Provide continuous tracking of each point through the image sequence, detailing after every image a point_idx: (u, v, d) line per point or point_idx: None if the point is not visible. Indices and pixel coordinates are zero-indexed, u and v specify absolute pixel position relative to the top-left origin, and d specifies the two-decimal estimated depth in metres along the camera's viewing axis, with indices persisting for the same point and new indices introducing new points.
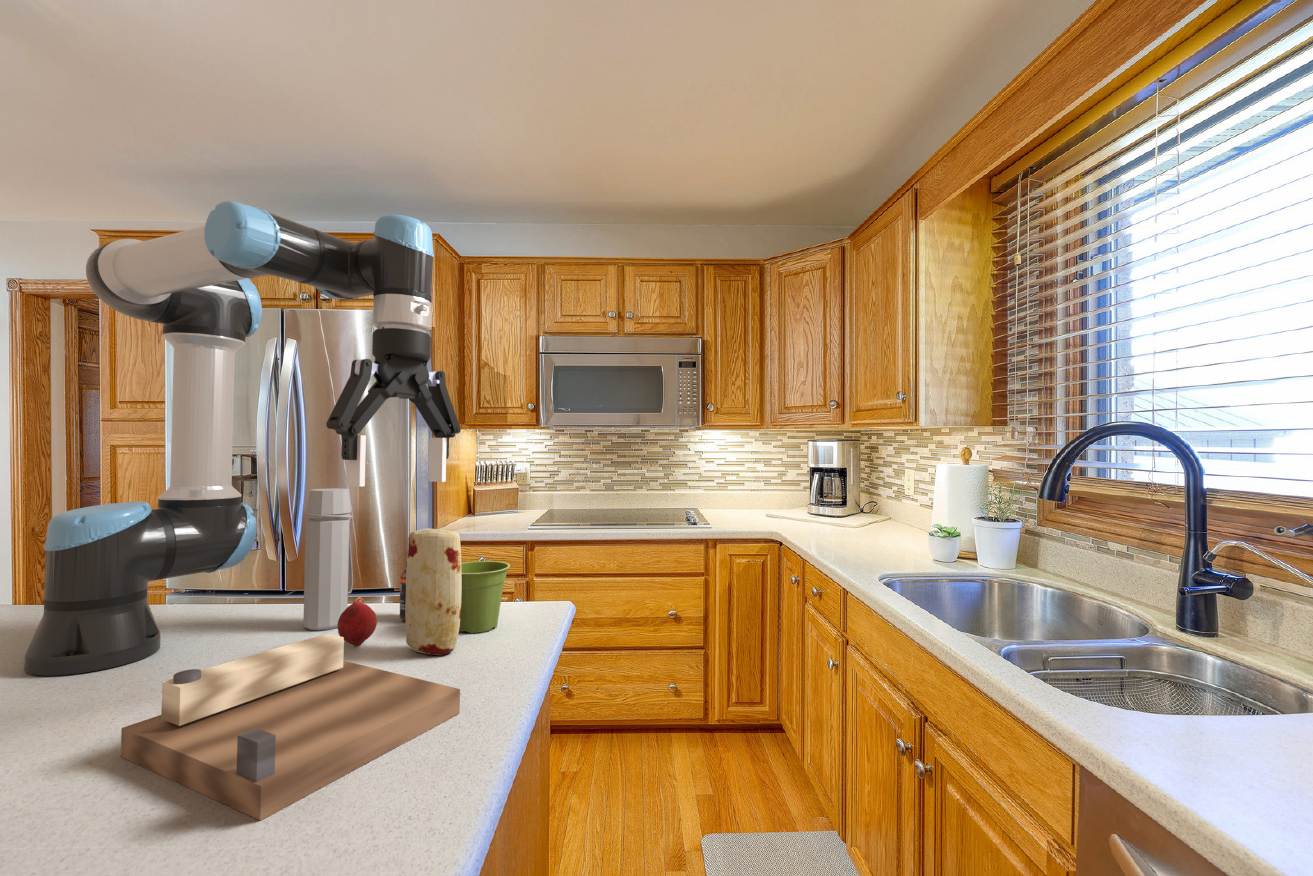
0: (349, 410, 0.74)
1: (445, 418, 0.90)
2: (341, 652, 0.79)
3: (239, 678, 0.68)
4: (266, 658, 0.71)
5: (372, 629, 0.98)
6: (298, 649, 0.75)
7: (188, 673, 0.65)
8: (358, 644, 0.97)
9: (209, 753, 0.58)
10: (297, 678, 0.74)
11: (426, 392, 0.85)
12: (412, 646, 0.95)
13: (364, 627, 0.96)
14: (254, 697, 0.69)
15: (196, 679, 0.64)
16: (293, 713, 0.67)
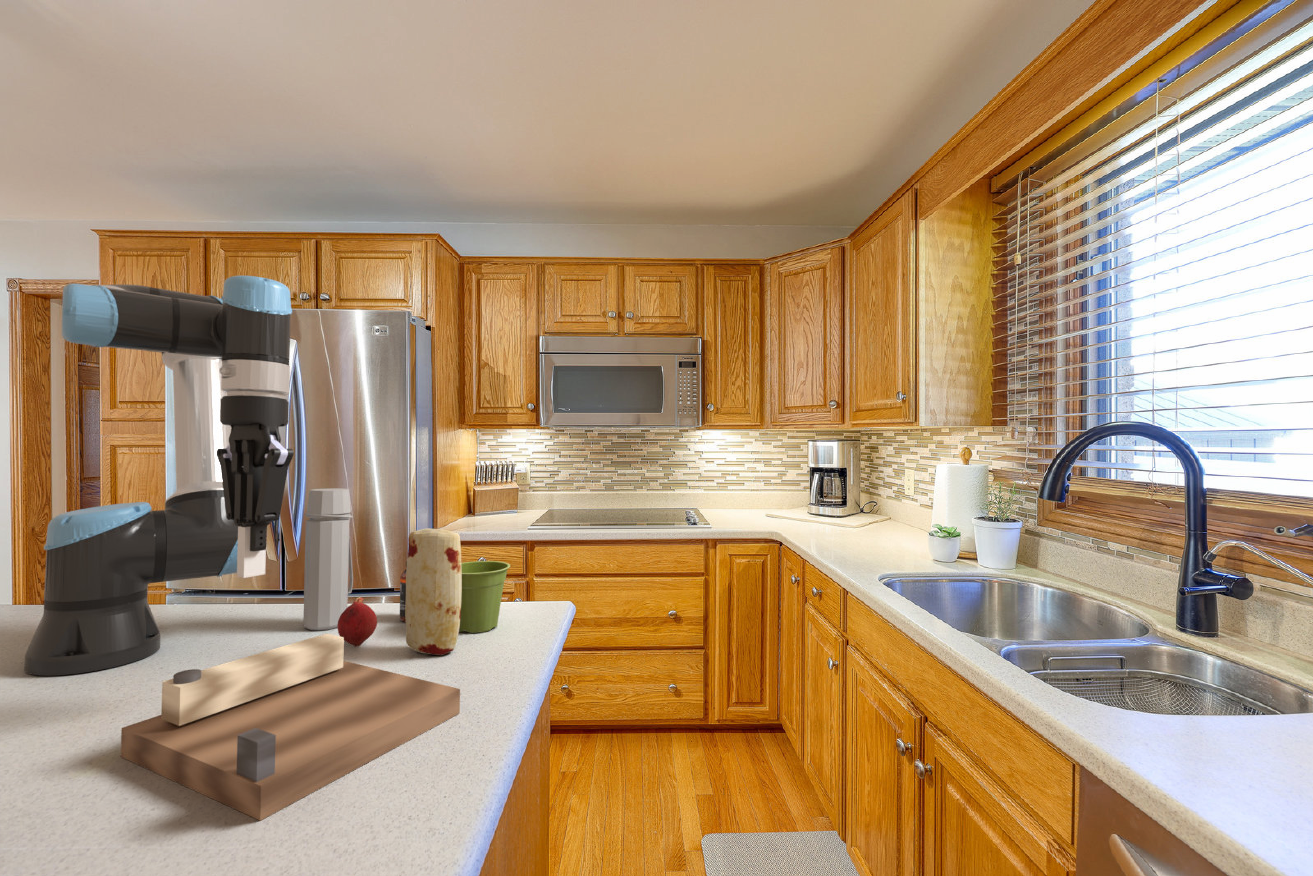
0: (226, 501, 0.79)
1: None
2: (341, 652, 0.79)
3: (239, 678, 0.68)
4: (266, 658, 0.71)
5: (372, 629, 0.98)
6: (298, 649, 0.75)
7: (188, 673, 0.65)
8: (358, 644, 0.97)
9: (209, 753, 0.58)
10: (297, 678, 0.74)
11: (246, 463, 0.76)
12: (412, 646, 0.95)
13: (364, 627, 0.96)
14: (254, 697, 0.69)
15: (196, 679, 0.64)
16: (293, 713, 0.67)
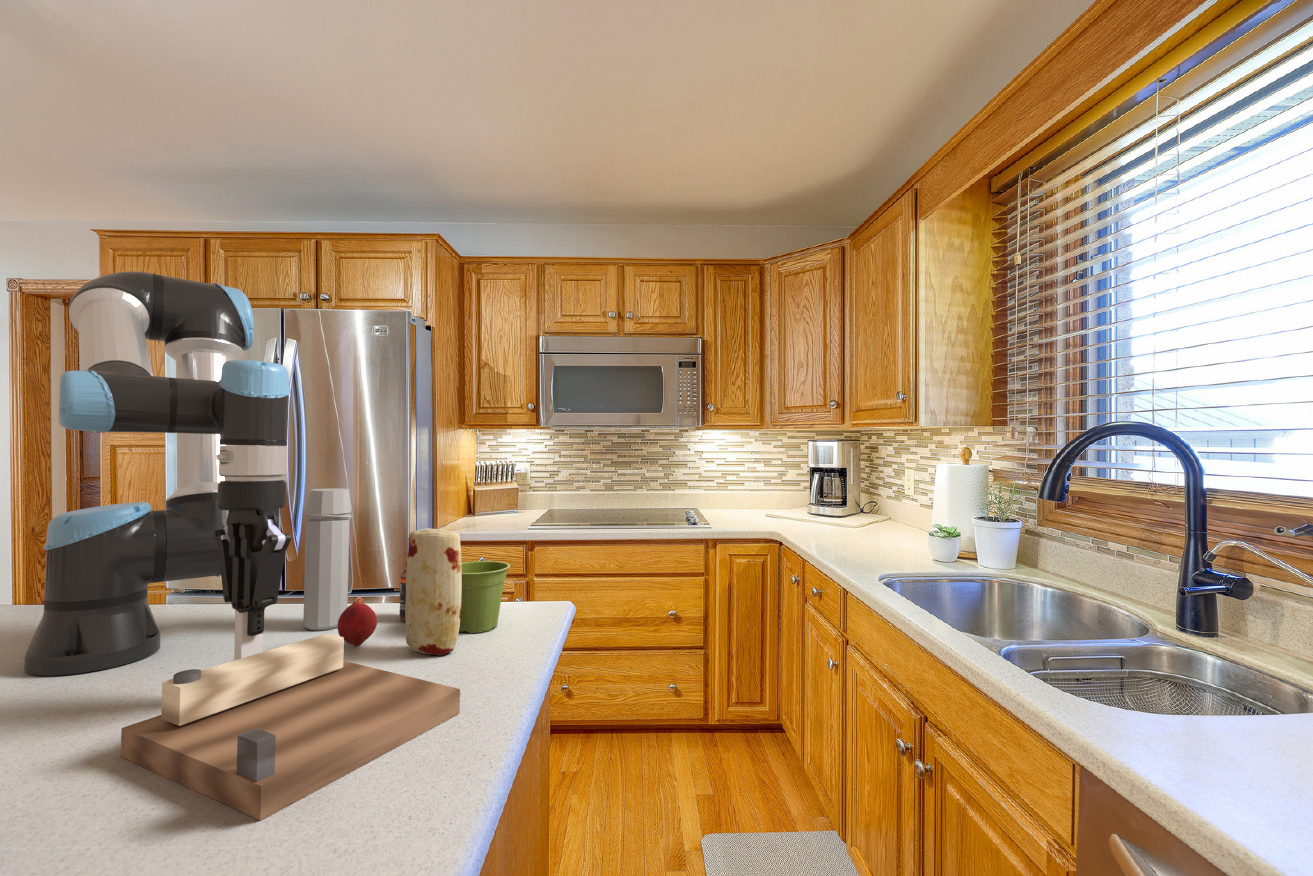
0: (224, 583, 0.79)
1: None
2: (341, 652, 0.79)
3: (239, 678, 0.68)
4: (266, 658, 0.71)
5: (372, 629, 0.98)
6: (298, 649, 0.75)
7: (188, 673, 0.65)
8: (358, 644, 0.97)
9: (209, 753, 0.58)
10: (297, 678, 0.74)
11: (243, 548, 0.76)
12: (412, 646, 0.95)
13: (364, 627, 0.96)
14: (254, 697, 0.69)
15: (196, 679, 0.64)
16: (293, 713, 0.67)
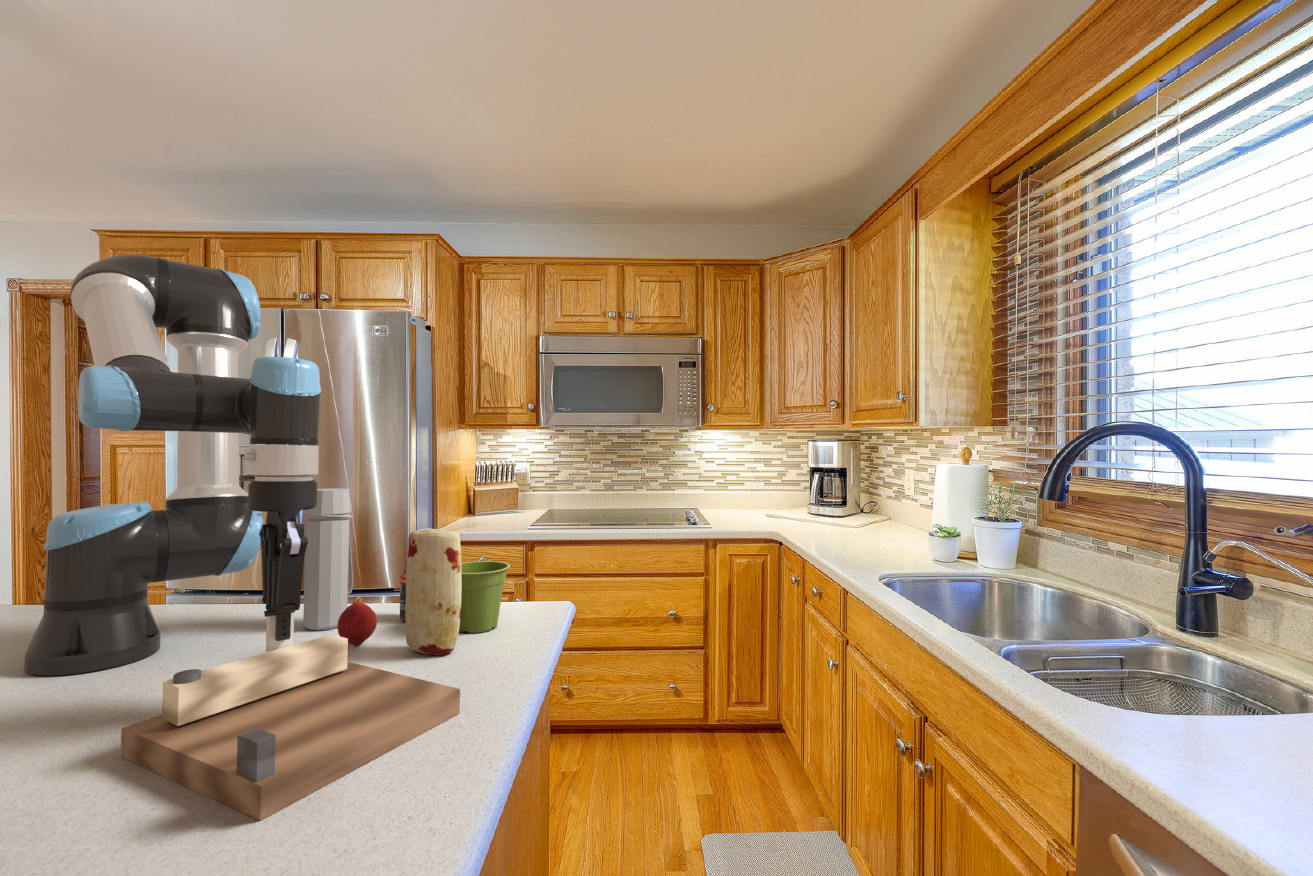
0: (263, 584, 0.78)
1: None
2: (345, 654, 0.79)
3: (240, 679, 0.68)
4: (267, 659, 0.71)
5: (372, 629, 0.98)
6: (301, 650, 0.74)
7: (188, 673, 0.65)
8: (358, 644, 0.97)
9: (209, 753, 0.58)
10: (299, 679, 0.74)
11: (269, 550, 0.74)
12: (412, 646, 0.95)
13: (364, 627, 0.96)
14: (255, 698, 0.69)
15: (195, 679, 0.64)
16: (293, 713, 0.67)
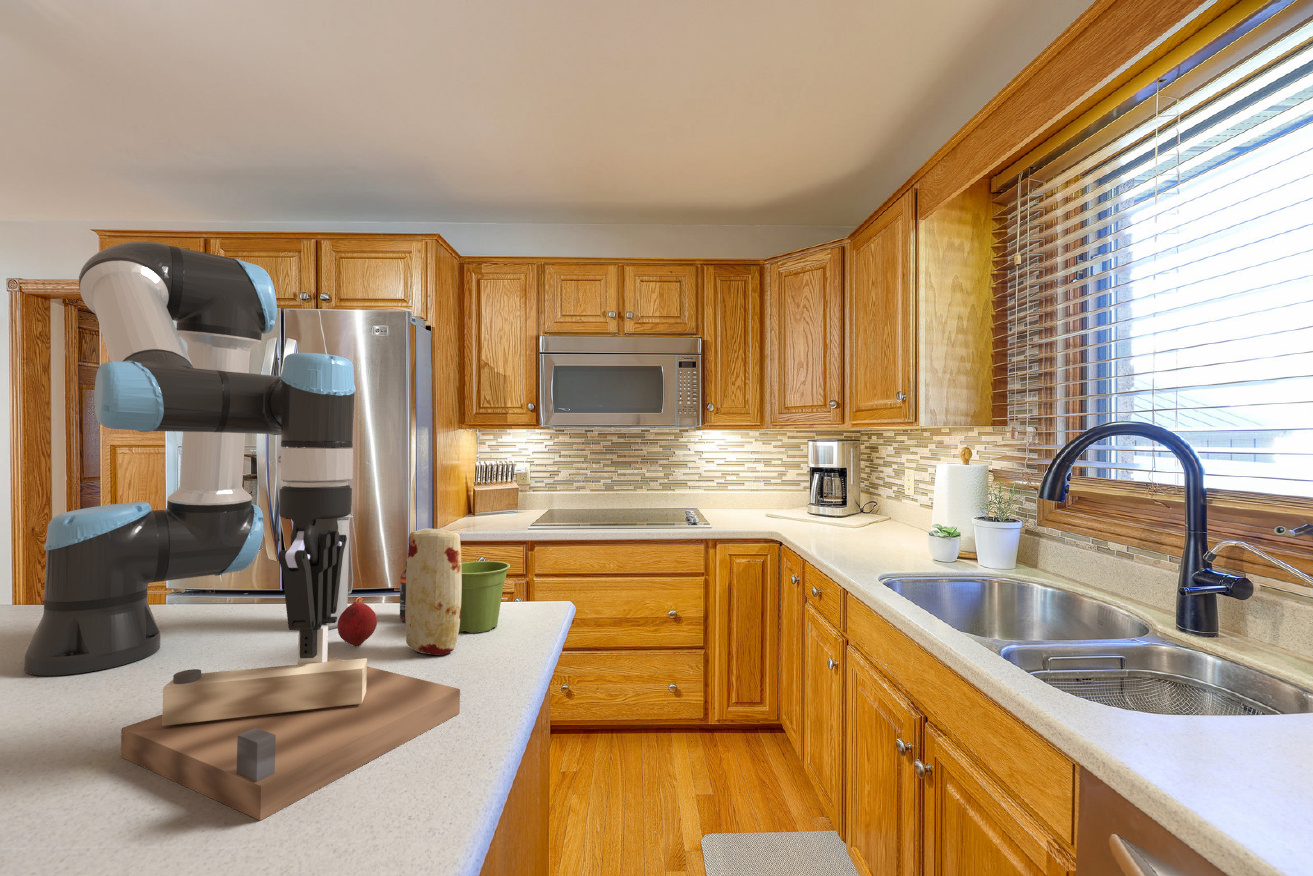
0: None
1: None
2: (359, 685, 0.69)
3: (229, 690, 0.64)
4: (267, 674, 0.66)
5: (372, 629, 0.98)
6: (307, 671, 0.67)
7: (187, 673, 0.65)
8: (358, 644, 0.97)
9: (209, 753, 0.58)
10: (299, 704, 0.67)
11: None
12: (412, 646, 0.95)
13: (364, 627, 0.96)
14: (246, 714, 0.65)
15: (186, 682, 0.64)
16: (293, 713, 0.67)
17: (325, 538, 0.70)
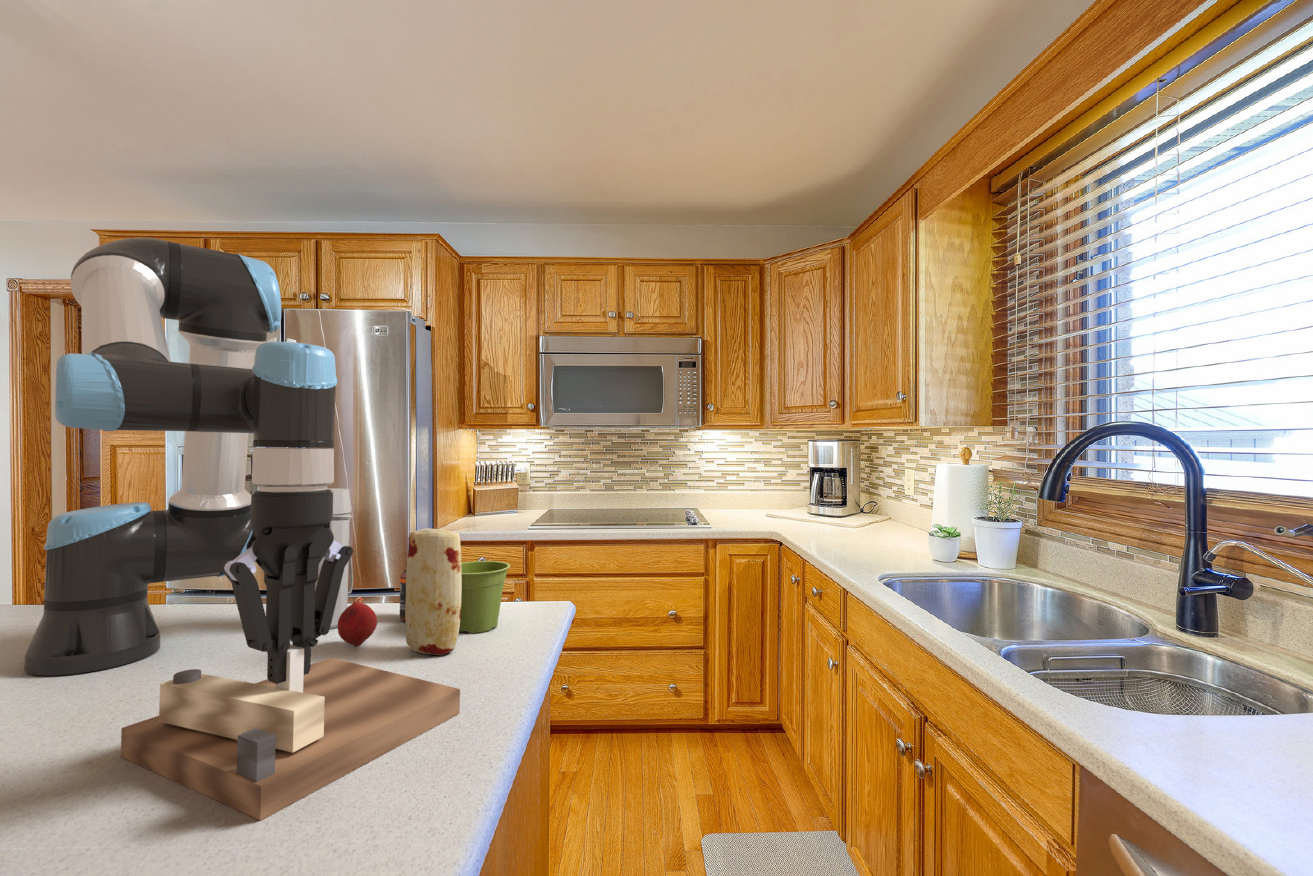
0: None
1: None
2: (291, 730, 0.57)
3: (198, 701, 0.62)
4: (230, 693, 0.61)
5: (372, 629, 0.98)
6: (257, 699, 0.60)
7: (186, 673, 0.65)
8: (358, 644, 0.97)
9: (209, 753, 0.58)
10: None
11: None
12: (412, 646, 0.95)
13: (364, 627, 0.96)
14: (209, 731, 0.61)
15: (178, 682, 0.64)
16: None
17: (284, 550, 0.61)
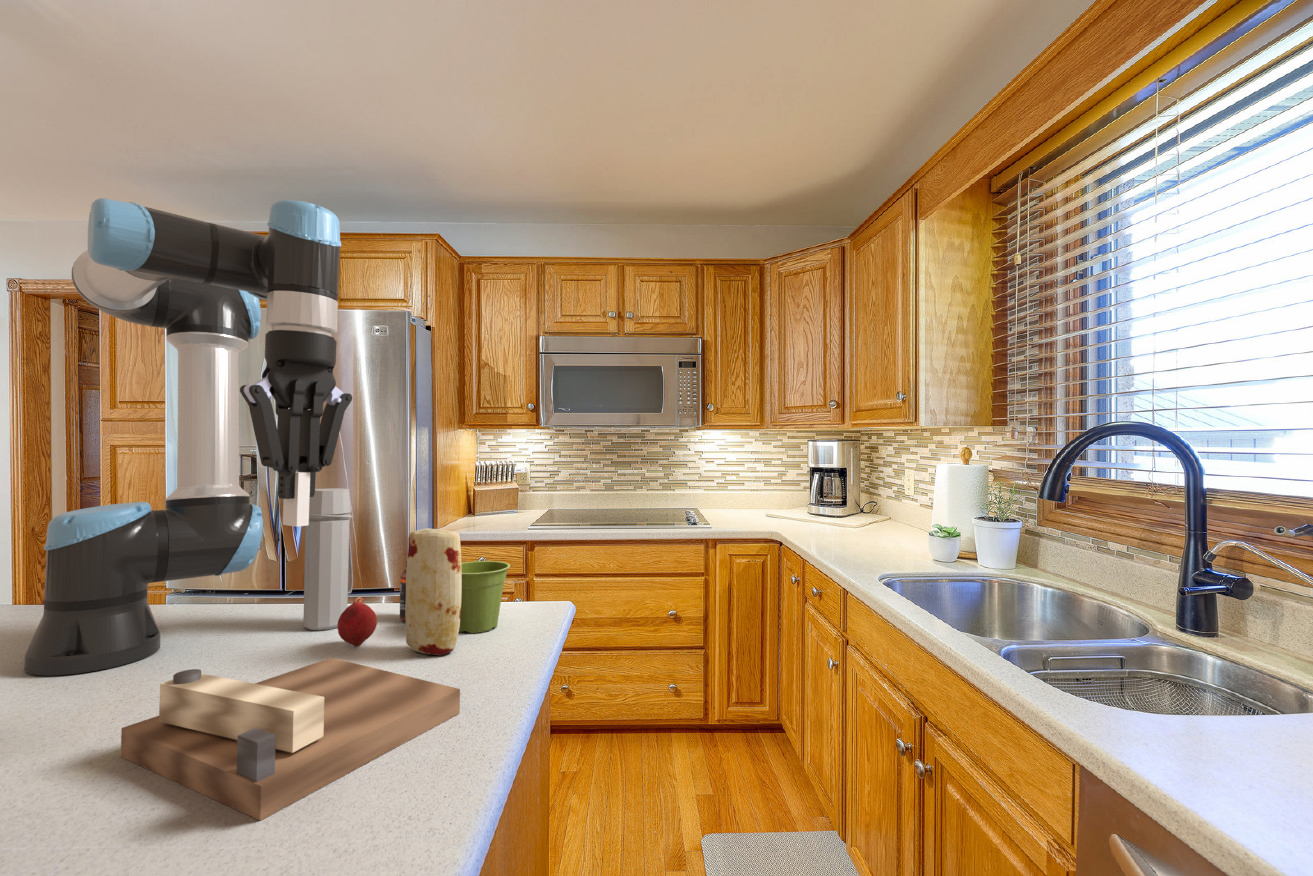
0: None
1: None
2: (291, 731, 0.57)
3: (198, 701, 0.62)
4: (230, 693, 0.61)
5: (372, 629, 0.98)
6: (256, 699, 0.60)
7: (185, 673, 0.65)
8: (358, 644, 0.97)
9: (209, 753, 0.58)
10: None
11: None
12: (412, 646, 0.95)
13: (364, 627, 0.96)
14: (209, 731, 0.61)
15: (178, 682, 0.64)
16: None
17: (295, 382, 0.71)
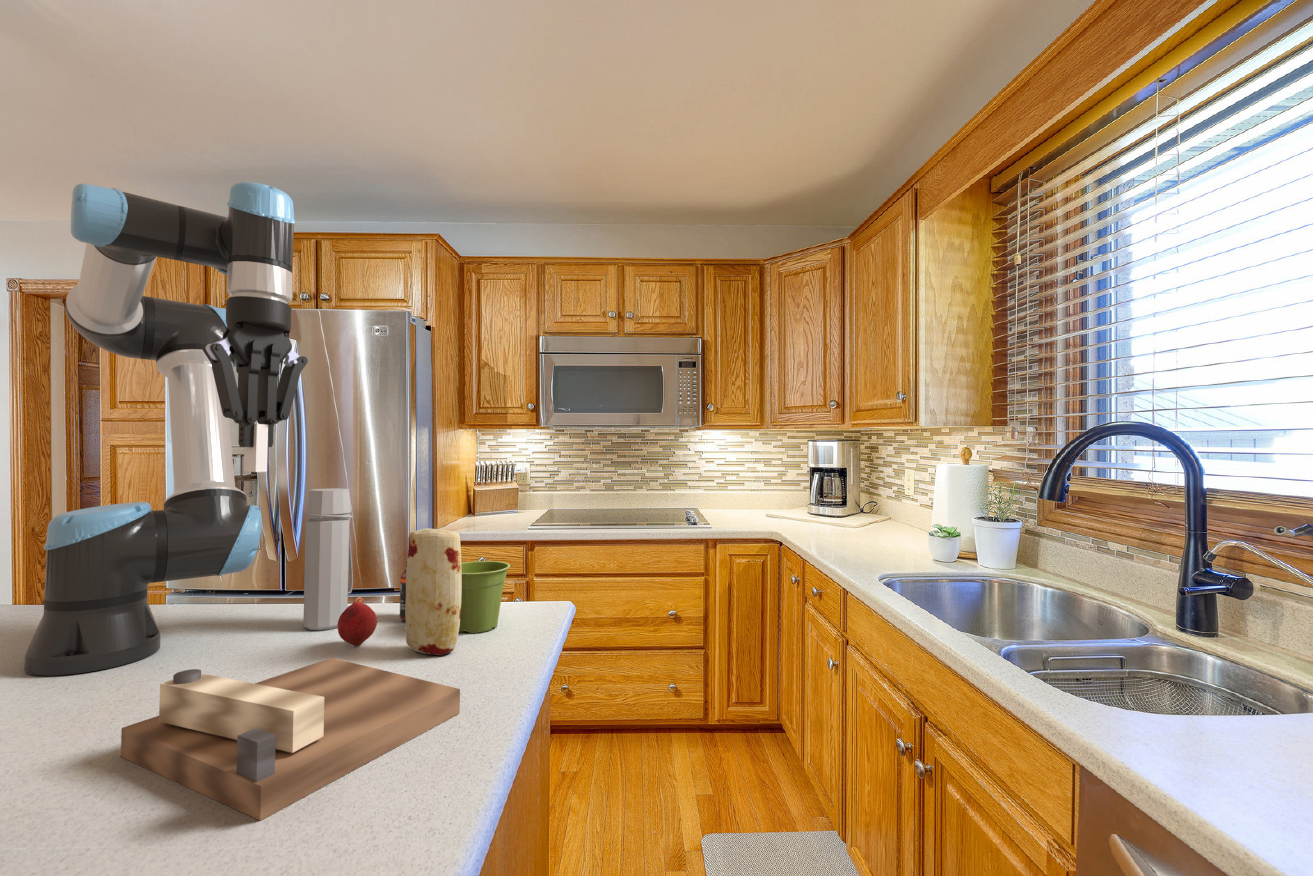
0: None
1: None
2: (291, 731, 0.57)
3: (198, 701, 0.62)
4: (230, 693, 0.61)
5: (372, 629, 0.98)
6: (256, 699, 0.60)
7: (185, 673, 0.65)
8: (358, 644, 0.97)
9: (209, 753, 0.58)
10: None
11: None
12: (412, 646, 0.95)
13: (364, 627, 0.96)
14: (209, 731, 0.61)
15: (178, 682, 0.64)
16: None
17: (253, 342, 0.80)
